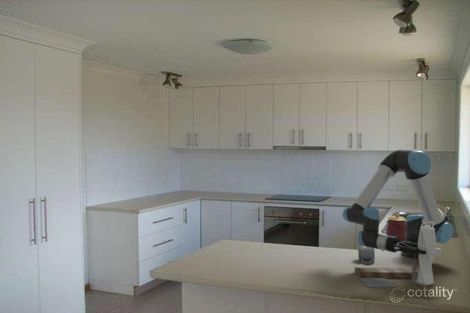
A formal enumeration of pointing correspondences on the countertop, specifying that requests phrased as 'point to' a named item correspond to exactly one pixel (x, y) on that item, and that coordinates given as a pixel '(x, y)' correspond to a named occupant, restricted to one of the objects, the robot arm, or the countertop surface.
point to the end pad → (377, 282)
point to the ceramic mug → (366, 254)
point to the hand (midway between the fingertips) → (437, 252)
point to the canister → (396, 227)
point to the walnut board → (385, 272)
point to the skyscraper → (425, 269)
